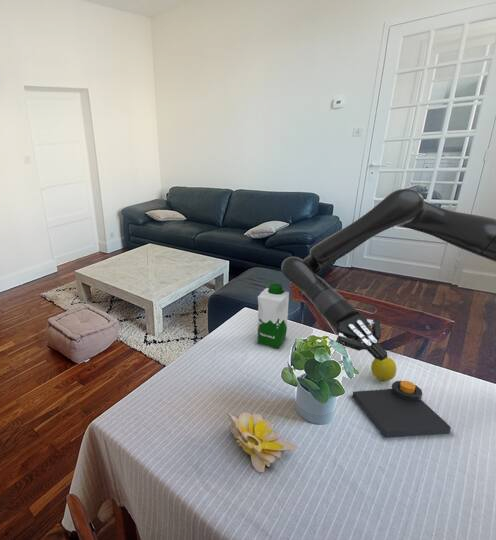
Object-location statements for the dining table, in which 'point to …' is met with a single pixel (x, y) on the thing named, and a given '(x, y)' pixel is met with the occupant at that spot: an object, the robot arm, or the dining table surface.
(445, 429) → the scale
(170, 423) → the dining table surface
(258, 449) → the decorative flower
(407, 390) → the tare button
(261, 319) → the milk carton
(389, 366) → the lemon
